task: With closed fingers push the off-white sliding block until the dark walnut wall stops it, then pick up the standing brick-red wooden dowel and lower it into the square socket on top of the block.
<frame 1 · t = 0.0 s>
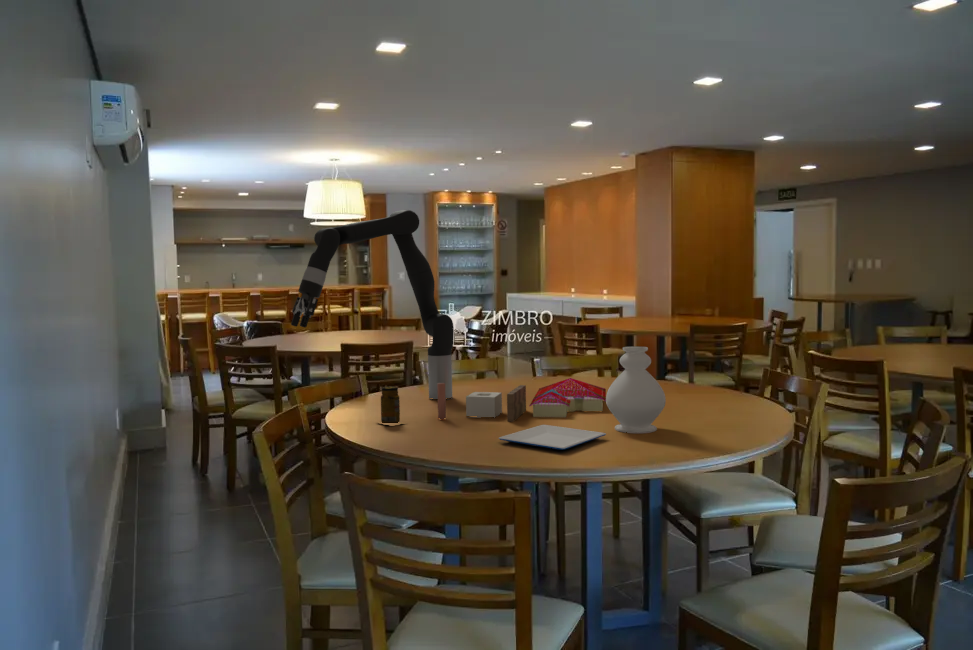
hand: (298, 326, 253), 31 cm above the table, tool tilted 20°, fingers open, 8 cm apart
wall: (517, 415, 248), on the table
block: (484, 404, 251), point 4 cm above the table, slide at 0.0 cm
decorative vase: (635, 429, 223), on the table
dowel: (442, 419, 245), on the table
house model: (570, 409, 262), on the table
plate: (552, 442, 209), on the table
condiment: (391, 424, 239), on the table
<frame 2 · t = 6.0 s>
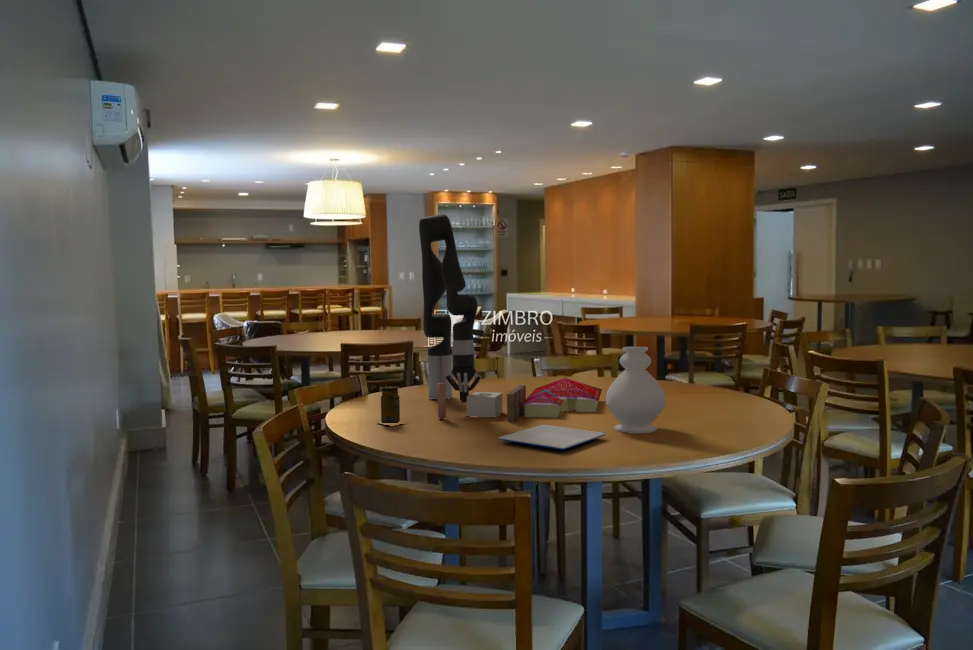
hand: (464, 402, 253), 4 cm above the table, tool pointing down, fingers closed
block: (484, 404, 251), point 4 cm above the table, slide at 0.2 cm, touching gripper
house model: (564, 409, 262), on the table
everything else where it was.
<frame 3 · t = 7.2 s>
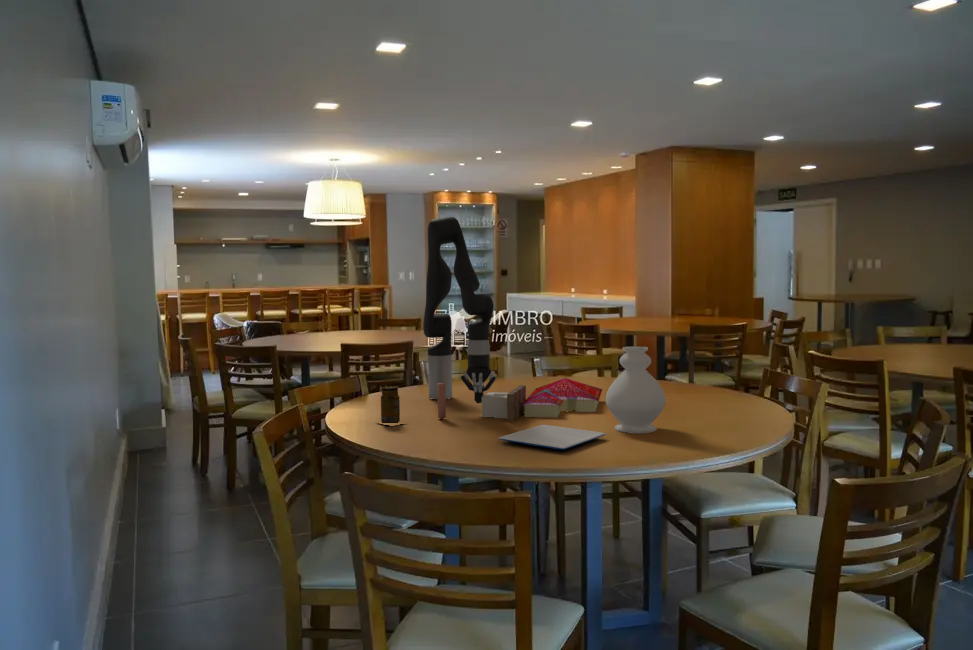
hand: (478, 402, 251), 4 cm above the table, tool pointing down, fingers closed
block: (499, 405, 250), point 3 cm above the table, slide at 5.5 cm, touching gripper, wall
everything else where it was.
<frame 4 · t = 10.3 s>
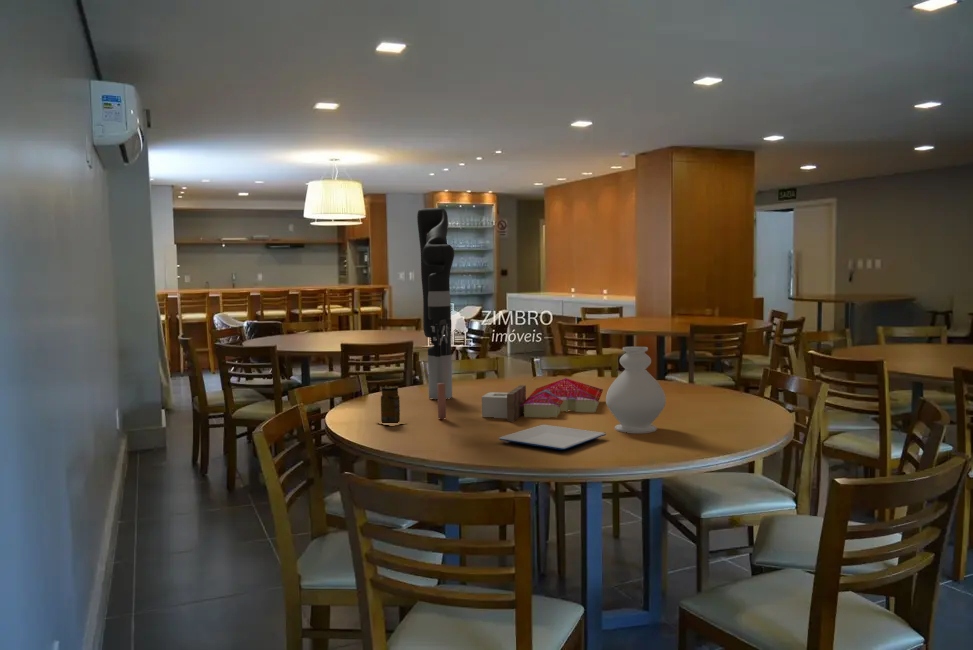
hand: (440, 355, 244), 21 cm above the table, tool pointing down, fingers open, 5 cm apart
block: (499, 405, 250), point 3 cm above the table, slide at 5.5 cm, touching wall
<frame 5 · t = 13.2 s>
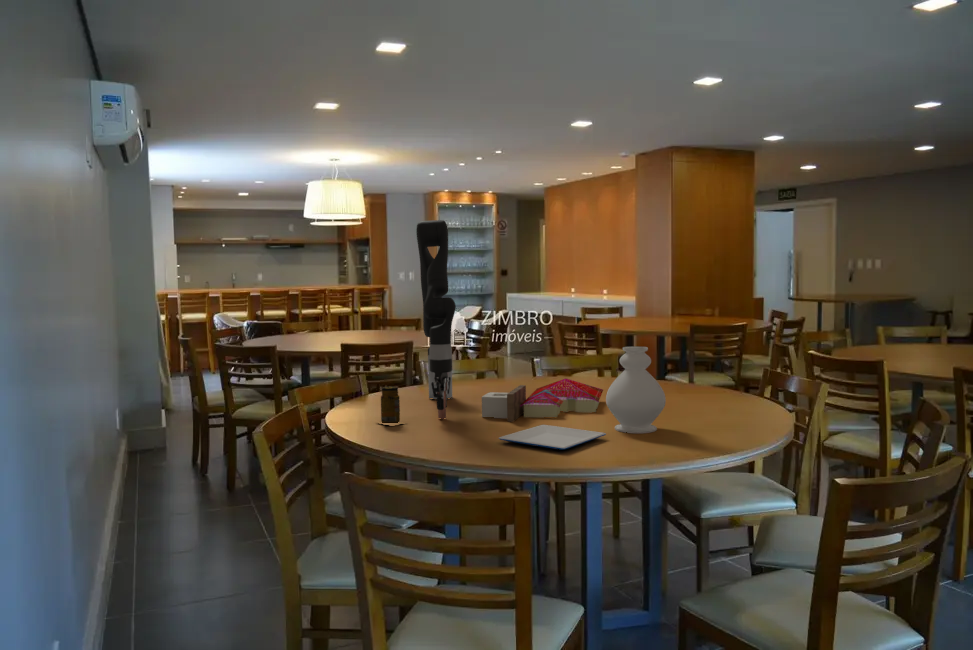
hand: (441, 408, 245), 4 cm above the table, tool pointing down, fingers closed on dowel, 2 cm apart
dowel: (442, 419, 245), on the table, touching gripper
everything else where it was.
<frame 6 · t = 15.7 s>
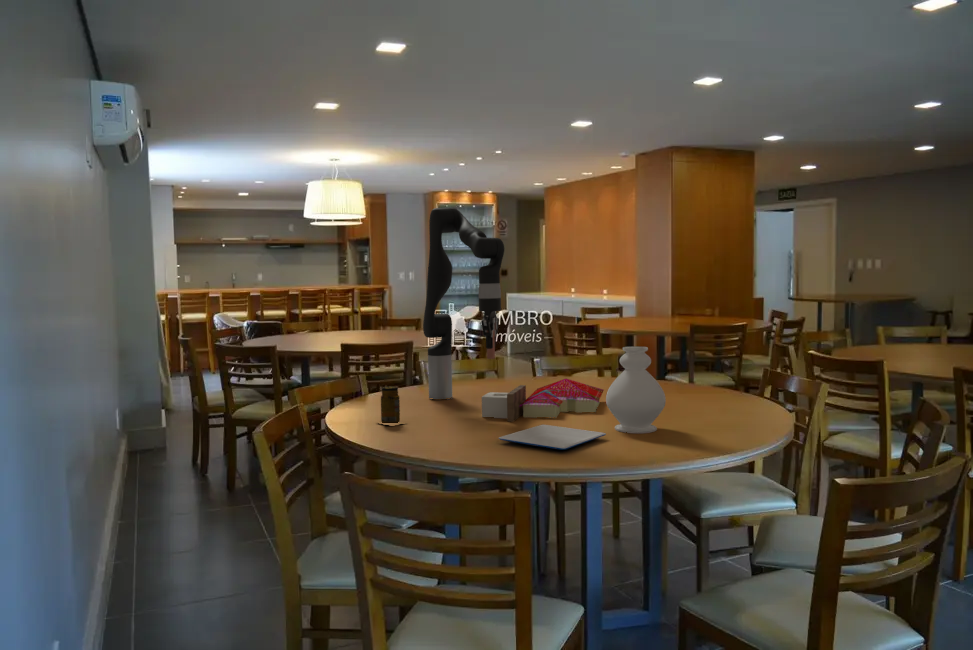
hand: (490, 347, 248), 23 cm above the table, tool pointing down, fingers closed on dowel, 2 cm apart
dowel: (491, 358, 248), point 20 cm above the table, touching gripper
when the fingers open (8 cm above the table, at t = 18.5 s): dowel drops 2 cm, resting on block.
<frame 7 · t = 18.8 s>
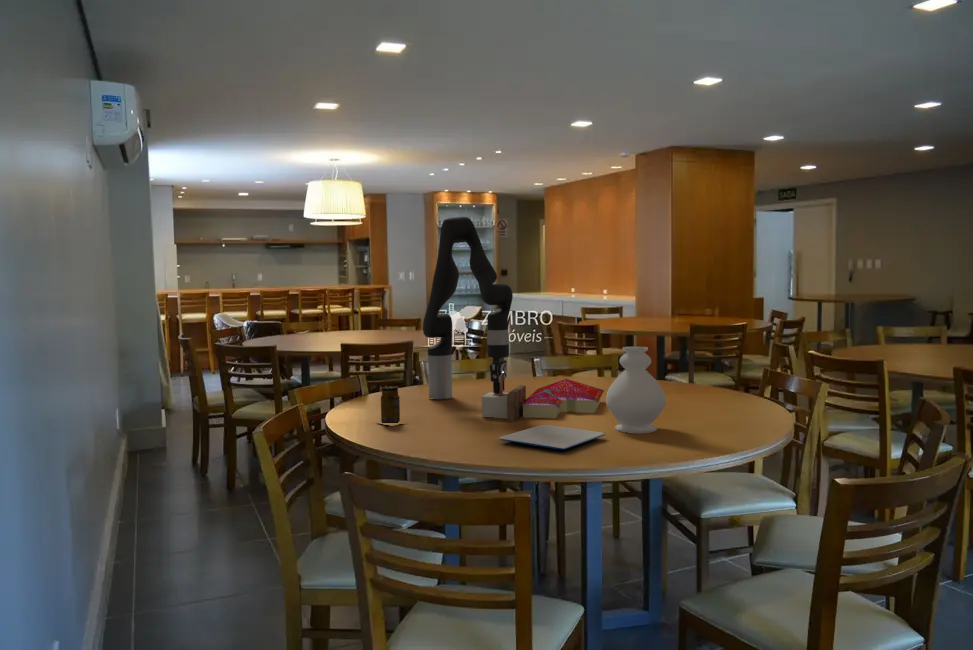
hand: (499, 392, 250), 8 cm above the table, tool pointing down, fingers open, 5 cm apart
block: (499, 405, 250), point 3 cm above the table, slide at 5.5 cm, touching dowel, wall
dowel: (499, 410, 250), point 2 cm above the table, touching block
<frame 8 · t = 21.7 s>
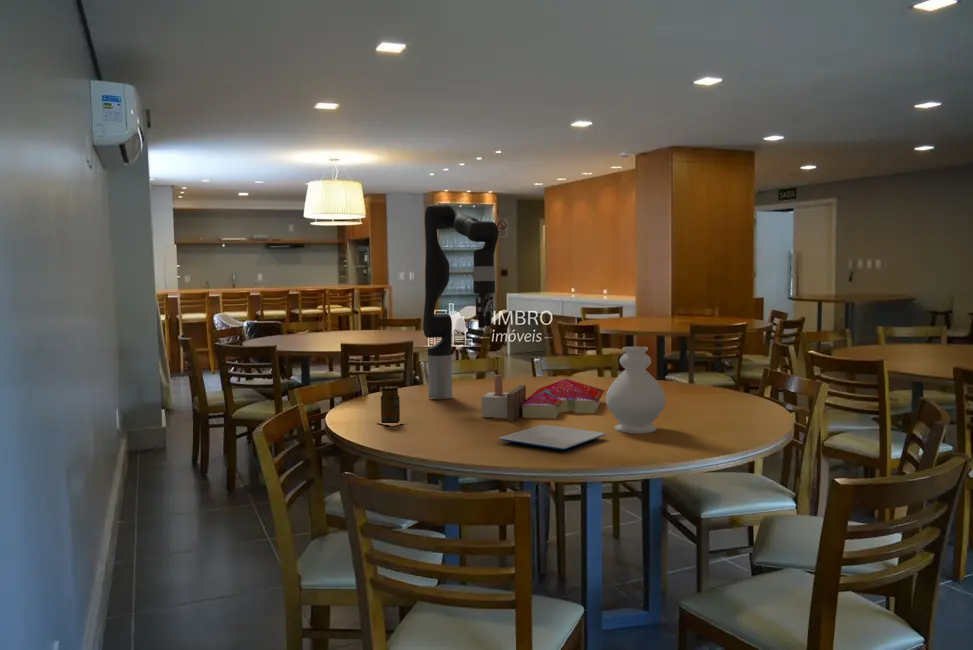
hand: (485, 326, 252), 30 cm above the table, tool pointing down, fingers open, 8 cm apart
block: (499, 405, 250), point 4 cm above the table, slide at 5.5 cm, touching dowel
at the end: block slide at 5.5 cm; dowel 0.2 cm off-centre on the block, point 1.5 cm above the block's base; dowel tilted 2° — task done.
